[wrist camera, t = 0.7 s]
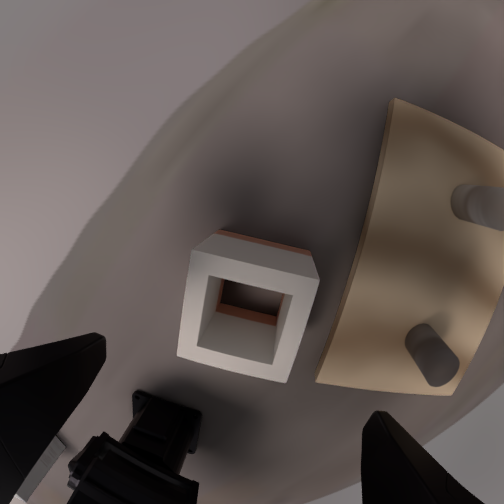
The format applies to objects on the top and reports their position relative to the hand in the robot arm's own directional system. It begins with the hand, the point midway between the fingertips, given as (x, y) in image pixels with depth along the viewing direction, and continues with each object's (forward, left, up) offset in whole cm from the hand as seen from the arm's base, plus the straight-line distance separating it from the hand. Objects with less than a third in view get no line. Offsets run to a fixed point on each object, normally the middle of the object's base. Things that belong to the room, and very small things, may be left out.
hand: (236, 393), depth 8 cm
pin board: (+3, -12, -12) cm, 17 cm away
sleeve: (-1, +1, -12) cm, 12 cm away
